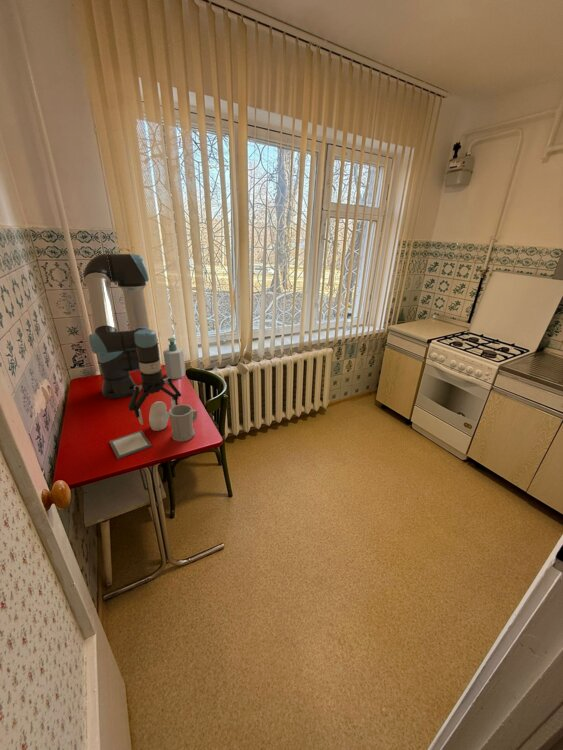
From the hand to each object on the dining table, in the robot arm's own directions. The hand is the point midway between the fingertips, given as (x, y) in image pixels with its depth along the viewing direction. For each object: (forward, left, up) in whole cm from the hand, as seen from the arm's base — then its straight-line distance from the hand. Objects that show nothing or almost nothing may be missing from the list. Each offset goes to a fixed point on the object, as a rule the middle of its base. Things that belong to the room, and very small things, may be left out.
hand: (158, 417), depth 124 cm
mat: (+5, -13, -5) cm, 15 cm away
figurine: (0, 0, -5) cm, 5 cm away
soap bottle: (-44, +25, -5) cm, 51 cm away
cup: (+11, +6, -5) cm, 13 cm away
